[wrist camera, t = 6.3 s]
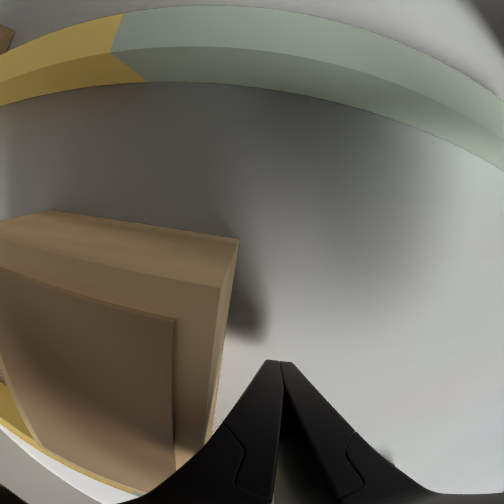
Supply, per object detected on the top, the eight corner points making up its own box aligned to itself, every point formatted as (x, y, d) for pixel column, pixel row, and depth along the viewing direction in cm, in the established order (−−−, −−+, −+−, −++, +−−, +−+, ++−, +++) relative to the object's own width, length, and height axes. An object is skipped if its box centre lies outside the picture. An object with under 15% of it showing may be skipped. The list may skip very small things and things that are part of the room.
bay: (385, 475, 11) (395, 504, 9) (-16, 377, 11) (-34, 394, 9) (518, 152, 7) (560, 152, 4) (-42, 104, 6) (-71, 102, 4)
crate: (211, 435, 10) (197, 510, 6) (76, 394, 10) (36, 448, 6) (239, 237, 8) (219, 291, 4) (52, 209, 8) (-34, 230, 4)
